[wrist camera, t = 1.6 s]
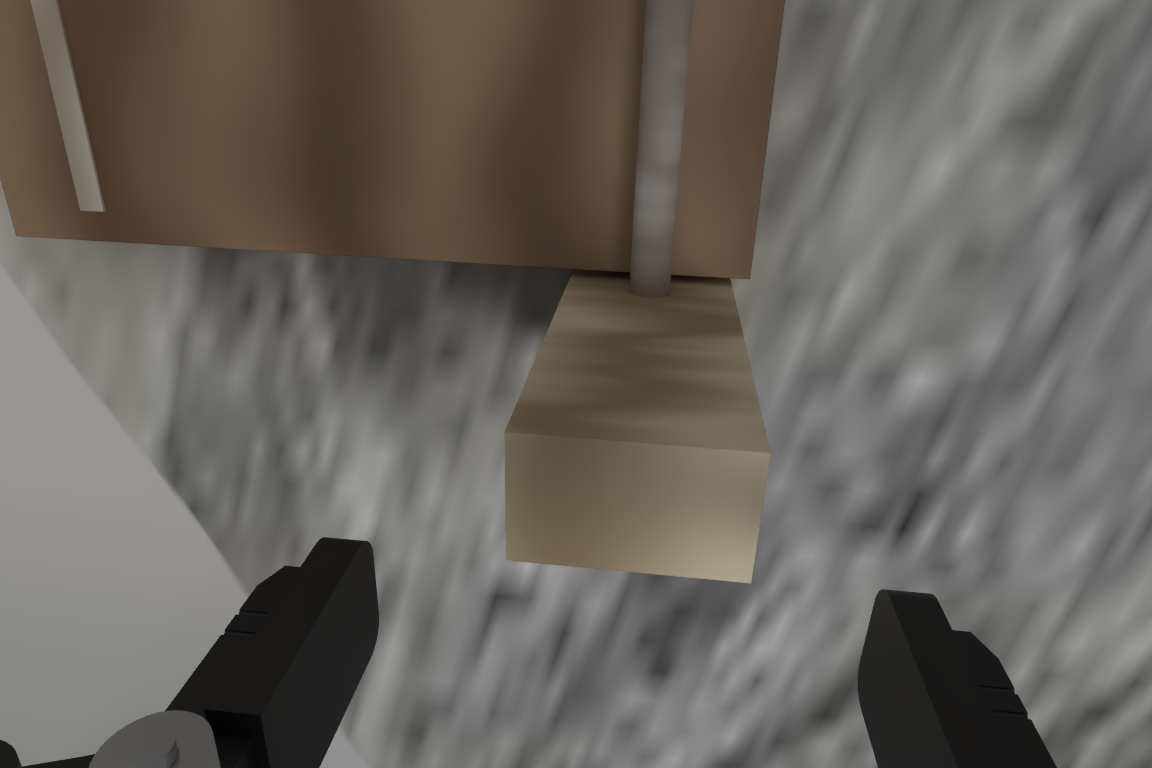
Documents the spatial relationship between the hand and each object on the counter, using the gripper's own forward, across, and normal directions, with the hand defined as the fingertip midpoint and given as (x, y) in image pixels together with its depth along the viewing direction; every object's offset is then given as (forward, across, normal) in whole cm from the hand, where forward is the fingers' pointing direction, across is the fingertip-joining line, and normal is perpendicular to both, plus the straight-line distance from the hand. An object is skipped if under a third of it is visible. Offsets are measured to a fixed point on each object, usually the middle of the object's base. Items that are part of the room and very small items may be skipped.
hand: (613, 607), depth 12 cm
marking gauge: (+15, 0, -5) cm, 16 cm away
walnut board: (+15, +9, -8) cm, 19 cm away
